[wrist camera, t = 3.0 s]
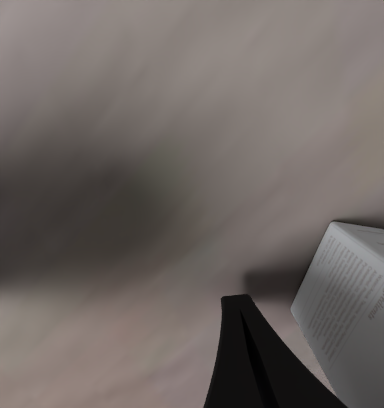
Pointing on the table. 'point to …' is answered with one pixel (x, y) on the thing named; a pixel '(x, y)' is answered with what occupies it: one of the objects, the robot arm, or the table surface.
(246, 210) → the table surface
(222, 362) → the robot arm
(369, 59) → the table surface
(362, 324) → the product box
